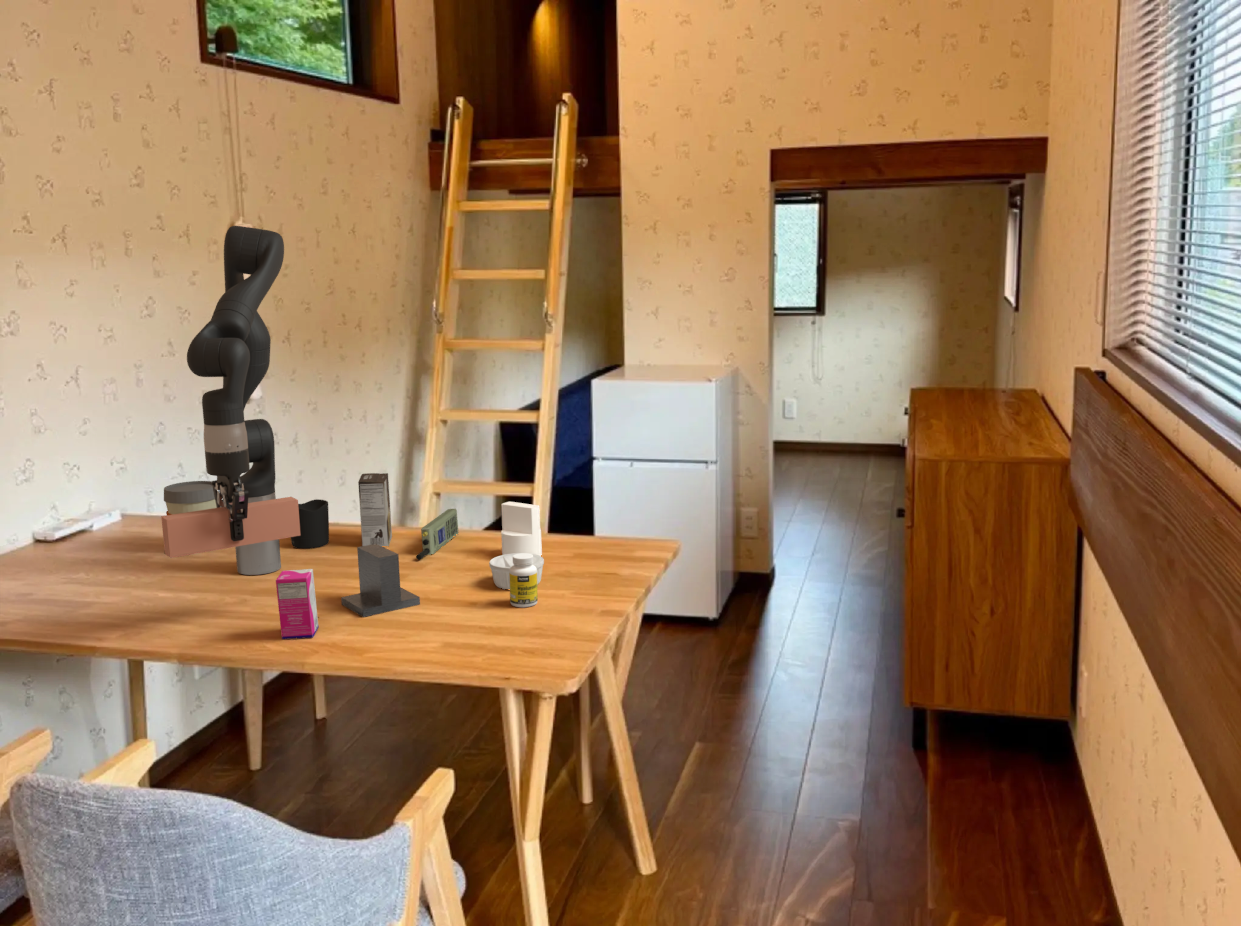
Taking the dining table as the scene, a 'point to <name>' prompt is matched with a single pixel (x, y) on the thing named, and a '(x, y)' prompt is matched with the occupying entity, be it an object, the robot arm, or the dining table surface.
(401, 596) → the stand
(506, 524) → the cylinder with rectangular tab
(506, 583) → the ramekin
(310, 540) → the pen holder
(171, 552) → the batten
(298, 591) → the supplement box
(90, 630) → the dining table surface
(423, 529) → the handheld radio
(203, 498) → the reusable coffee cup
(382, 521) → the coffee box
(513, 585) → the supplement bottle
